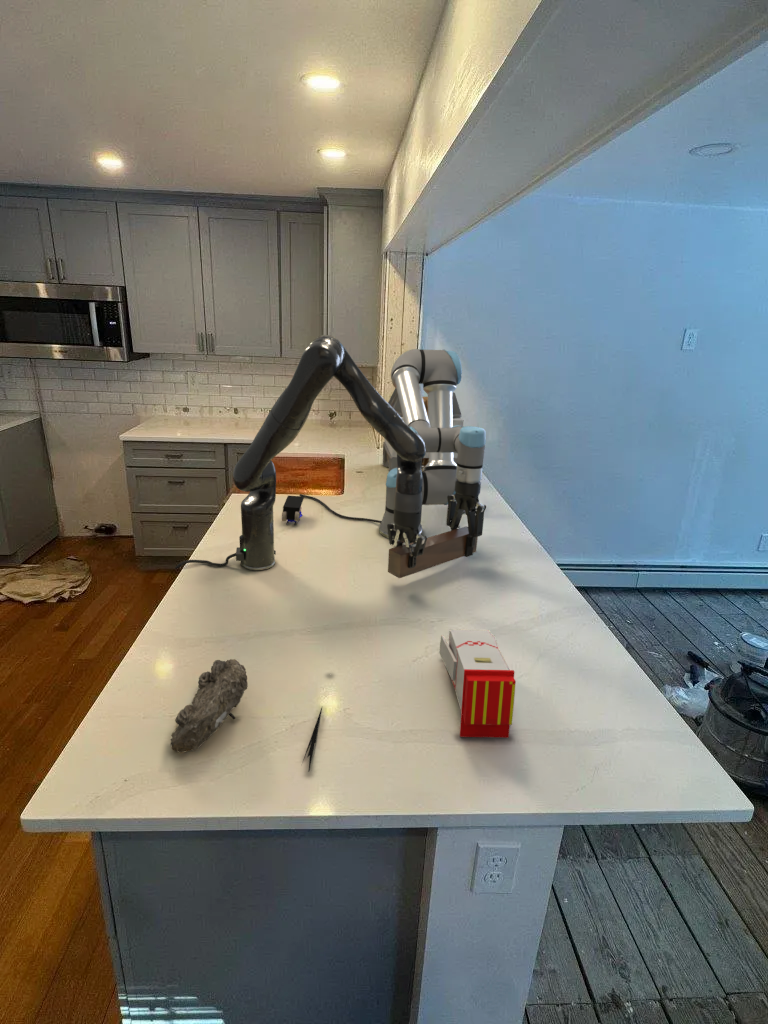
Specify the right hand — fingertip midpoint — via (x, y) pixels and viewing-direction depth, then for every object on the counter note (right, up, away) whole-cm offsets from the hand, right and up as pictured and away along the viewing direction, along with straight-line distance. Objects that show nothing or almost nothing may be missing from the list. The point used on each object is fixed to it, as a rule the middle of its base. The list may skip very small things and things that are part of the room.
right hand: (461, 552), depth 175 cm
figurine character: (-57, +9, +33) cm, 67 cm away
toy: (-6, -25, -56) cm, 62 cm away
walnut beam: (-9, -2, -8) cm, 12 cm away
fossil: (-56, -27, -66) cm, 91 cm away
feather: (-36, -27, -66) cm, 80 cm away
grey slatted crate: (-7, +31, +100) cm, 105 cm away
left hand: (-18, -2, -16) cm, 24 cm away
